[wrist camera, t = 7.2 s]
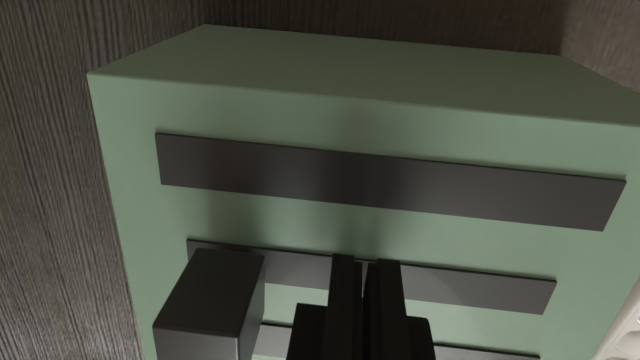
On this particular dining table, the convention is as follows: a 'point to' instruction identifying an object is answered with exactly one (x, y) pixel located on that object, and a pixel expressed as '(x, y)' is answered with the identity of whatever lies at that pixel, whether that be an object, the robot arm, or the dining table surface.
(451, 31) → the dining table surface
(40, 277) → the dining table surface
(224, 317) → the slider
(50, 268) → the dining table surface
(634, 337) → the calculator
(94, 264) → the dining table surface
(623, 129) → the toaster
